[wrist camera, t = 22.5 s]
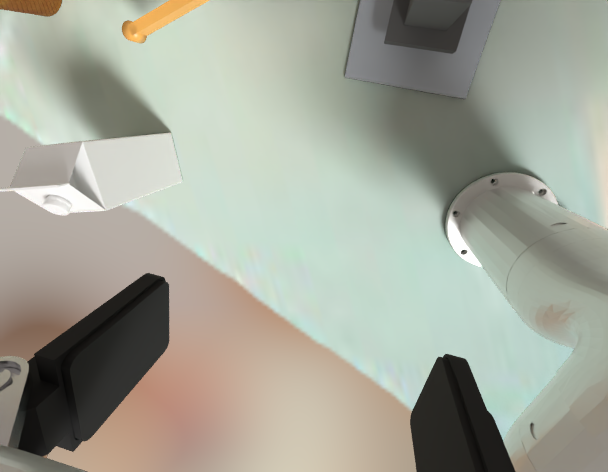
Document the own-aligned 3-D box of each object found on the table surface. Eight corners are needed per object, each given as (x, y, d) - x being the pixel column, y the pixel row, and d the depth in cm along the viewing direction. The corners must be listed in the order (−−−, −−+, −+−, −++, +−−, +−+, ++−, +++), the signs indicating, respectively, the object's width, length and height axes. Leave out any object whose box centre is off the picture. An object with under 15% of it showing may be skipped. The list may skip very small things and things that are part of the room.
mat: (519, -58, 30) (522, -61, 29) (464, 98, 35) (465, 98, 35) (375, -75, 31) (376, -79, 31) (344, 77, 37) (344, 76, 36)
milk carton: (129, 136, 45) (-21, 152, 28) (172, 132, 43) (42, 145, 26) (143, 184, 47) (14, 226, 30) (184, 181, 46) (73, 223, 29)
